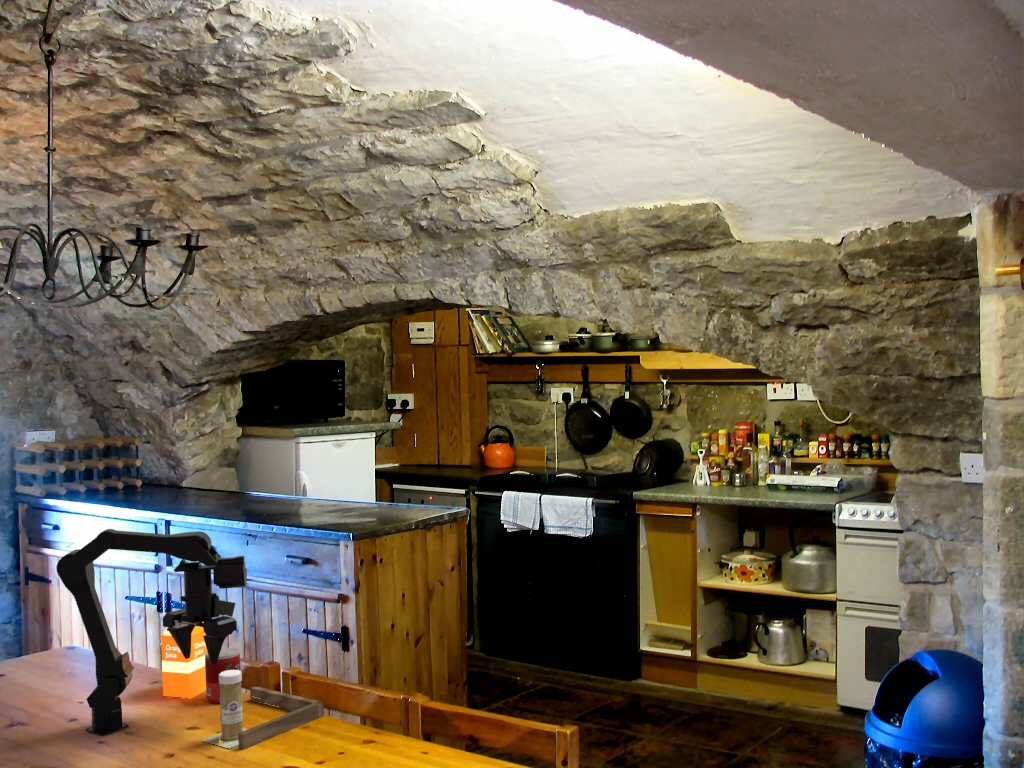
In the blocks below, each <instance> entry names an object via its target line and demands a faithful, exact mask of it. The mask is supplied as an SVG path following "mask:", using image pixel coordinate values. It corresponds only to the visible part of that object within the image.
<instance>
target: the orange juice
mask: <svg viewBox="0 0 1024 768" xmlns="http://www.w3.org/2000/svg"><path fill="white" fill-rule="evenodd" d="M202 623H203V622H202ZM167 628H168V627H165V629H164V630H163V632H162V634H161V636H160V641H161V642H160V644H161V645H160V646H161V673H162V697H163V696H173V697H172V698H174V697H181V698H180V699H185V698H188V700H190V699H192V698H194V697H196V696H198V695H200V694H202V693H204V692H206V674H205V653H206V652H207V648H206V645H205V641H204V638H203V636H205V635H206V634H205V632H204V631H203V627H199V626H195V628H194V629H193V631H192V634H191V655H190V658H188V659H185V658H184V656H183V654H182V652H181V650H180V649H179V647H178V645H177V643H176V642H175V640H174V639H173V637H172V635H171V634H170V632H169V631H167Z"/></svg>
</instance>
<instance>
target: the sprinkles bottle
mask: <svg viewBox="0 0 1024 768" xmlns="http://www.w3.org/2000/svg"><path fill="white" fill-rule="evenodd" d="M242 675H243V674H242V671H241V670H240V671H239V670H227V671H223V672H221V673H220V674H219V683H220V704H219V712H220V716H219V717H220V724H221V725H220V726H221V727H220V728H221V731H220V732H222V734H221V738H222V739H224V740H235V739H238V733H240V732H243V728H244V727H243V726H244V725H243V717H244V716H243V715H244V714H243V695H242V680H243V676H242Z"/></svg>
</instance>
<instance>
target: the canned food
mask: <svg viewBox="0 0 1024 768" xmlns="http://www.w3.org/2000/svg"><path fill="white" fill-rule="evenodd" d="M240 654H241V652H240V649H239V648H236V647H222V648H221V651H220V654H219V658H218V661H217V664H214V665H212V664H211V661H210V659H209V655H208V652H206V653H205V674H206V691H205V693H206V694H205V696H206V699H207V702H208V701H209V702H208V703H210V702H211V703H210V704H214V703H220V683H219V674H220V673H221V672H223V671H227V670H239V671H241V655H240Z"/></svg>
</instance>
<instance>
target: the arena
mask: <svg viewBox="0 0 1024 768" xmlns="http://www.w3.org/2000/svg"><path fill="white" fill-rule="evenodd" d="M249 694H250V698H249V699H250V702H253V701H254V702H253V703H257V702H261V703H267V704H270V705H275V706H279V707H281V708H283V709H282V710H285V709H286V711H289V710H290V712H288V713H285V714H283V715H280V716H278V717H275V718H273V719H270V720H269V721H268V720H267V721H265V722H263V723H260V724H257V725H255V726H253V727H251V728H245V727H243V732H240V733H238V739H235V740H224V739H222V738H221V736H219V735H220V734H222V731H220V732H218V733H216V734H213V735H211V736H209V737H206V738H203V739H201V740H200V741H201V742H202V741H203V742H204V743H206V742H207V744H209V743H210V745H212V744H215V745H214V746H216V745H218V746H217V747H219V746H220V744H221V743H220V744H219V740H221V741H223V742H222V744H221V746H223V747H225V748H224V749H226V748H228V749H227V750H229V749H230V750H232V749H234V747H235V748H237V747H238V749H240V748H241V749H240V750H246V749H248V748H251V747H253V746H255V744H256V745H257V743H258V744H260V743H262V742H261V741H263V742H265V741H267V740H269V739H268V738H270V739H272V738H274V736H275V737H277V736H279V735H281V734H280V733H282V732H284V731H286V732H288V731H287V730H289V731H291V730H293V728H294V729H296V728H298V727H300V725H301V726H303V725H306V724H307V723H310V722H312V721H315V720H317V719H319V718H322V717H324V716H325V713H324V711H325V710H324V701H321V700H316V699H312V698H307V697H305V696H304V697H303V696H300V695H299V696H298V695H295V694H291V693H286V692H281V691H278V690H273V689H269V688H264V687H260V686H251V687H250V688H249ZM252 696H254V697H257V698H254V697H252ZM258 698H261V699H258ZM261 703H260V704H261ZM281 708H280V709H281ZM319 714H320V715H319ZM322 715H323V716H322ZM295 727H296V728H295ZM290 729H291V730H290ZM284 733H285V732H284ZM278 734H279V735H278ZM282 734H283V733H282ZM276 735H277V736H276ZM271 737H272V738H271ZM219 738H220V739H219ZM266 739H267V740H266ZM264 740H265V741H264ZM224 742H225V743H224ZM223 744H224V745H223ZM236 746H237V747H236ZM231 748H232V749H231Z"/></svg>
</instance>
